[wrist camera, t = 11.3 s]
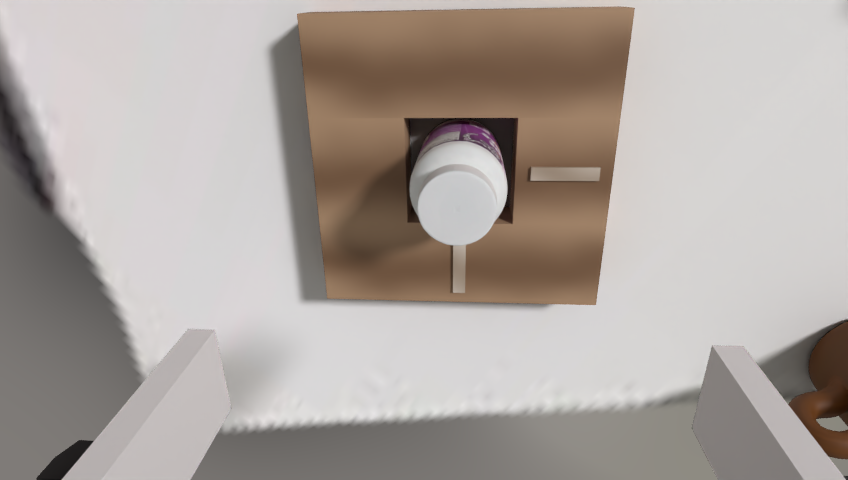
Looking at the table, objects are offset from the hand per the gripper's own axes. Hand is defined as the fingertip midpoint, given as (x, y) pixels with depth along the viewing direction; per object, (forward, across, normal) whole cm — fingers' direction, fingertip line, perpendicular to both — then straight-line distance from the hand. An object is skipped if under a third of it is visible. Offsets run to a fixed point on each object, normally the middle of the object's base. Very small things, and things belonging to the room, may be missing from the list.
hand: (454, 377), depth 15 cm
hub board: (+23, 0, 0) cm, 23 cm away
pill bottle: (+23, 0, 0) cm, 23 cm away
